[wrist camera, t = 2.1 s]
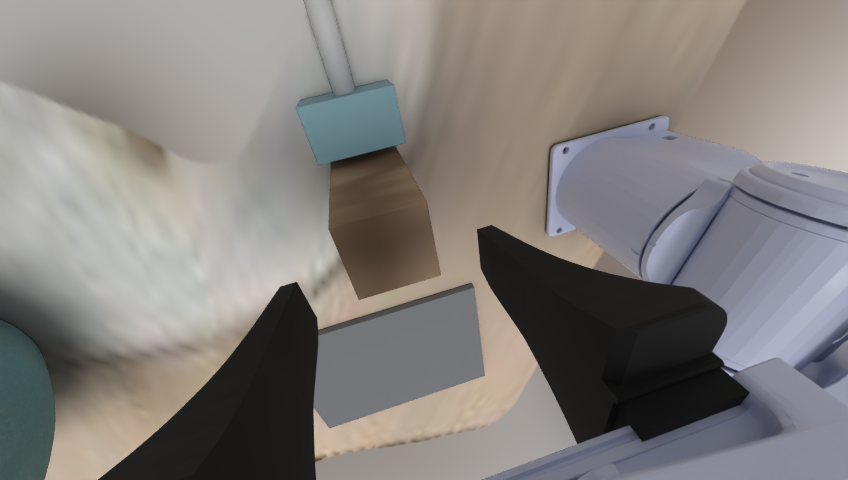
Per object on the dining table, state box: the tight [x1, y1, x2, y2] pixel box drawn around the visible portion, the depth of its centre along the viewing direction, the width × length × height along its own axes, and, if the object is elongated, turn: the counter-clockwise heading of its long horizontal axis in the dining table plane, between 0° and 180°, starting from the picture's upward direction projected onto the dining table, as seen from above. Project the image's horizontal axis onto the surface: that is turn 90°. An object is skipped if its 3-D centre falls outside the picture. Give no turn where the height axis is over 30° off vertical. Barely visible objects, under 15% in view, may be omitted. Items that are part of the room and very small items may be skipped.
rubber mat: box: [314, 283, 485, 428], centre depth 31 cm, size 18×14×1 cm
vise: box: [296, 0, 406, 165], centre depth 18 cm, size 6×17×2 cm, turn 11°
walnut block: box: [329, 146, 441, 300], centre depth 17 cm, size 4×4×9 cm
